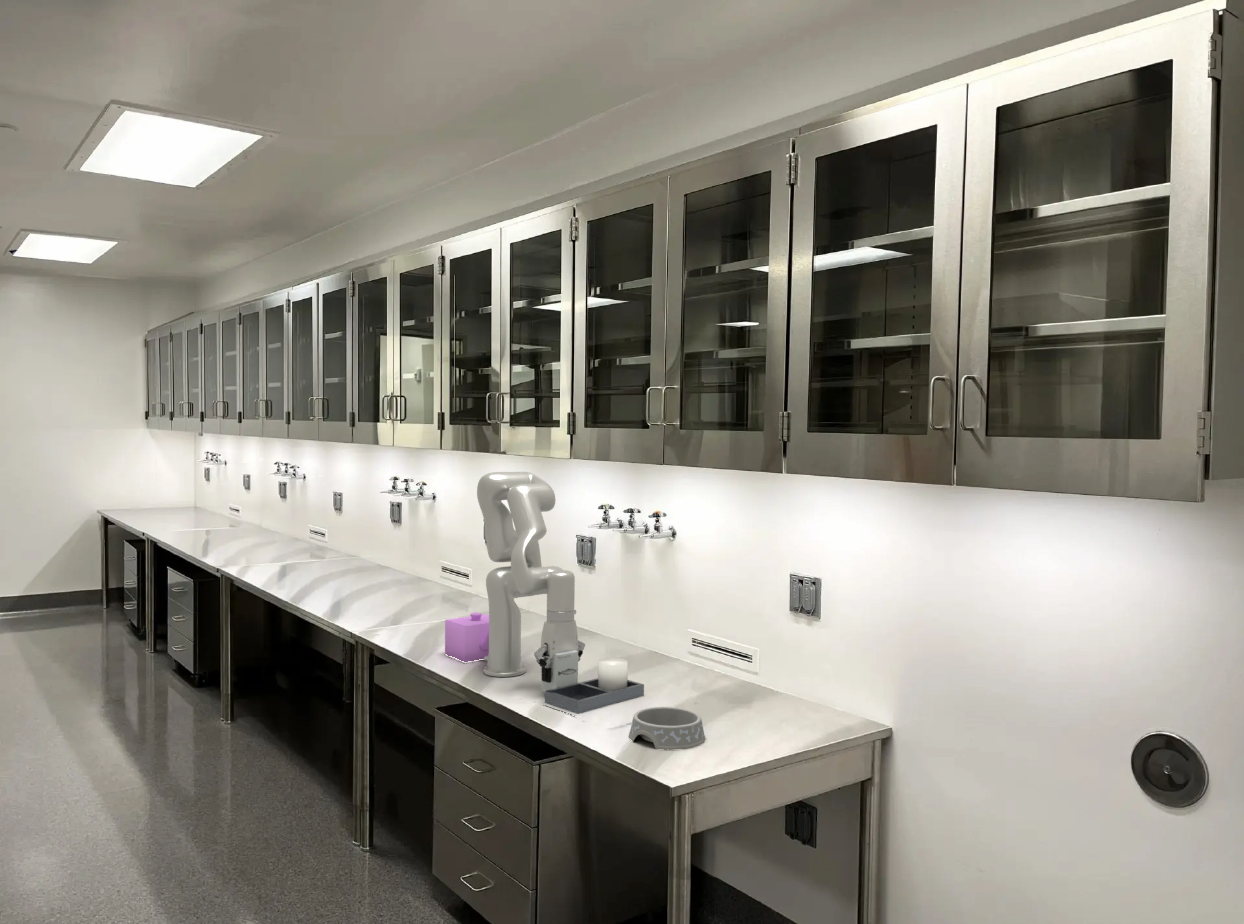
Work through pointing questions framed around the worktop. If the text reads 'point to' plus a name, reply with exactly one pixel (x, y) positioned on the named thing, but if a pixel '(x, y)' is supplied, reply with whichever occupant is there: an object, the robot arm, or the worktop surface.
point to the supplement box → (562, 670)
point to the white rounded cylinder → (612, 674)
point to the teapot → (467, 637)
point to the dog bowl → (668, 727)
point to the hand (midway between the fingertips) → (559, 678)
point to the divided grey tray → (590, 696)
